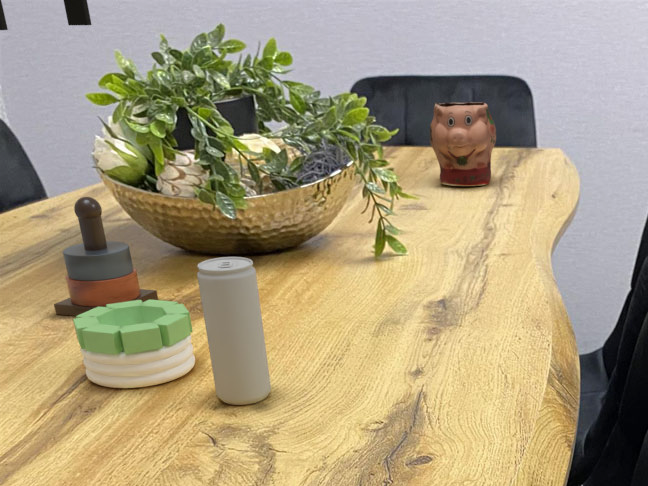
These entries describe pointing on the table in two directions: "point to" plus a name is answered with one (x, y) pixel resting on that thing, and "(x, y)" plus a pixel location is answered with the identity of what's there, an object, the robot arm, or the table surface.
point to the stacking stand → (98, 267)
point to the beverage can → (234, 329)
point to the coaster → (140, 366)
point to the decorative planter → (463, 142)
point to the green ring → (132, 326)
